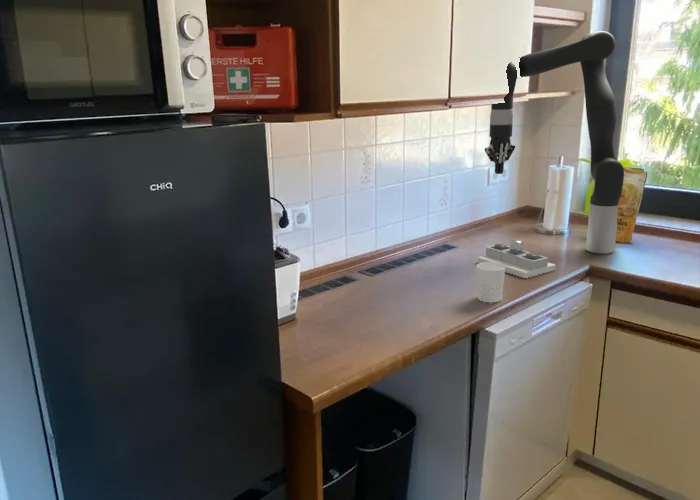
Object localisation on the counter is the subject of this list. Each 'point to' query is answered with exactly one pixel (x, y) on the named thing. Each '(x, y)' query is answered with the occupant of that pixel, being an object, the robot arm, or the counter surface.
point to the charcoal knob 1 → (500, 246)
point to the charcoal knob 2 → (532, 256)
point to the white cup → (490, 281)
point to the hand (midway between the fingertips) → (498, 173)
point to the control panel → (517, 262)
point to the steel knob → (516, 246)
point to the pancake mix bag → (629, 202)
